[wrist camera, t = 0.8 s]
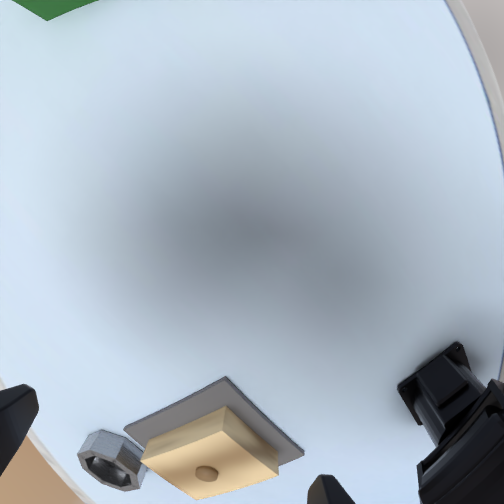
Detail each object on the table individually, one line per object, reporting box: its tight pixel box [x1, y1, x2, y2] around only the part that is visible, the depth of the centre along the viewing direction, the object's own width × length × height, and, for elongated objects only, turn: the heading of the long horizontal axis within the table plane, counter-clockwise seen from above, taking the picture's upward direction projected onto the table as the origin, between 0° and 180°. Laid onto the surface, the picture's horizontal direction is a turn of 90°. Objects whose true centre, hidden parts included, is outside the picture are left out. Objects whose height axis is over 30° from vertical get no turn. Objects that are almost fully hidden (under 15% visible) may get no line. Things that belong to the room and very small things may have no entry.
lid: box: [140, 406, 279, 500], centre depth 21 cm, size 7×9×3 cm
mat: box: [123, 377, 304, 466], centre depth 23 cm, size 11×12×1 cm
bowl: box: [77, 430, 147, 492], centre depth 23 cm, size 6×6×3 cm
